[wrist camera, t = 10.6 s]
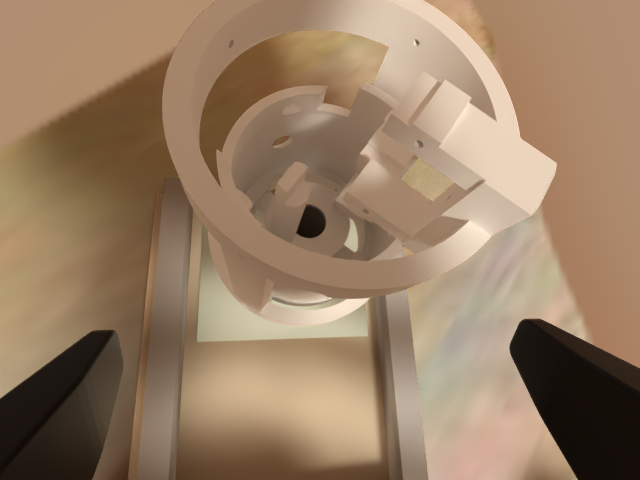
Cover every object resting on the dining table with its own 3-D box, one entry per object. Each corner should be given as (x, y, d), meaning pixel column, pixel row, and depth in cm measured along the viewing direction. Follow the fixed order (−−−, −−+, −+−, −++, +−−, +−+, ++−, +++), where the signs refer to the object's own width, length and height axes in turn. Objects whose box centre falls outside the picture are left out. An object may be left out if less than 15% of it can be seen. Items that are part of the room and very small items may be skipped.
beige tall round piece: (303, 362, 19) (457, 382, 5) (193, 281, 19) (27, 70, 5) (374, 256, 21) (616, 58, 7) (275, 184, 21) (320, -142, 7)
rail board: (422, 517, 19) (452, 544, 16) (127, 556, 16) (102, 596, 14) (389, 208, 24) (408, 188, 21) (160, 201, 21) (147, 177, 19)
